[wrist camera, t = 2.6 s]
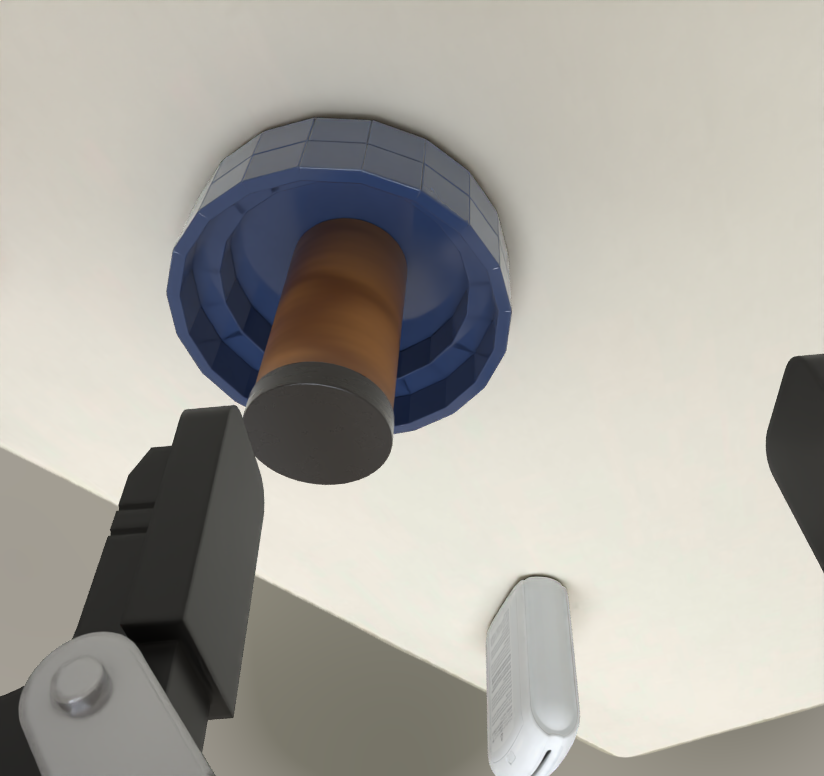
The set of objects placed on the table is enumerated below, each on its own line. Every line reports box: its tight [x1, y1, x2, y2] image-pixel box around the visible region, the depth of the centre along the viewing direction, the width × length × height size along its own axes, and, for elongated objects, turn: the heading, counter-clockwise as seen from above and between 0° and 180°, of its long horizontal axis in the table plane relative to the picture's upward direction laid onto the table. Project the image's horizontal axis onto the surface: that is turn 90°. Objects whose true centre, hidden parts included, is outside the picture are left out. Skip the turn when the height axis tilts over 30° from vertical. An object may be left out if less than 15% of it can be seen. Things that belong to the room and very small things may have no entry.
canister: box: [243, 218, 407, 485], centre depth 33 cm, size 6×6×11 cm
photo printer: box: [486, 577, 580, 776], centre depth 55 cm, size 10×4×12 cm, turn 167°
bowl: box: [166, 118, 512, 434], centre depth 36 cm, size 15×15×5 cm
